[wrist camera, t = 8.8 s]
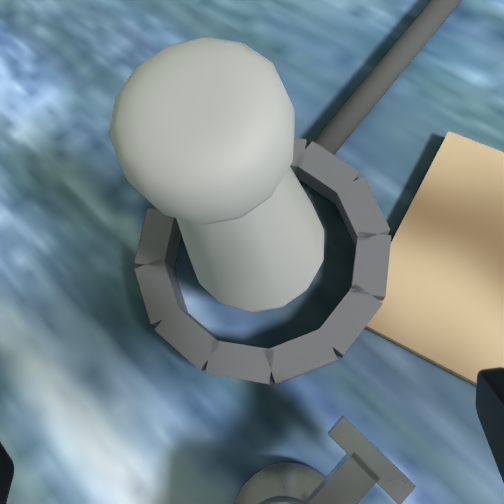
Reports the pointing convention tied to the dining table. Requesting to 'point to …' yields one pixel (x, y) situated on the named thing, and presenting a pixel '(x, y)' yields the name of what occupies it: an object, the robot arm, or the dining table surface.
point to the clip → (354, 472)
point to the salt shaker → (221, 168)
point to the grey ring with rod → (352, 212)
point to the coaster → (450, 264)
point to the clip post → (280, 483)
